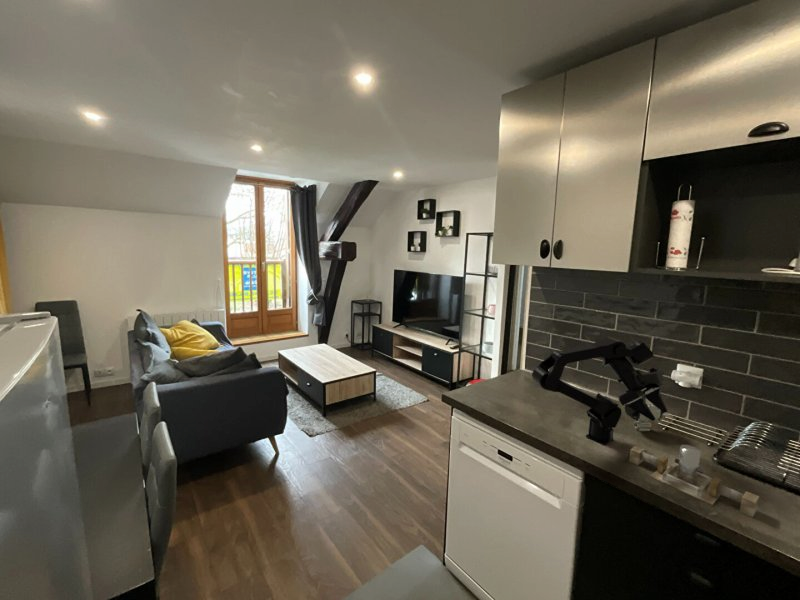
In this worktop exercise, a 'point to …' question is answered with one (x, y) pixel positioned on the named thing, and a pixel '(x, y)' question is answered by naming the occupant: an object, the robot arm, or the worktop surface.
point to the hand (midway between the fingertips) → (660, 416)
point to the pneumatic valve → (641, 419)
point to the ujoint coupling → (688, 464)
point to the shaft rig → (705, 486)
